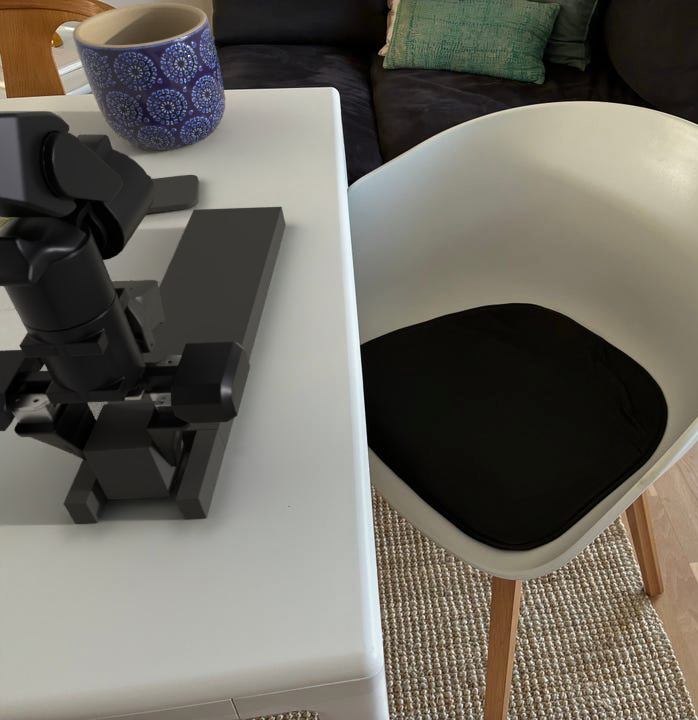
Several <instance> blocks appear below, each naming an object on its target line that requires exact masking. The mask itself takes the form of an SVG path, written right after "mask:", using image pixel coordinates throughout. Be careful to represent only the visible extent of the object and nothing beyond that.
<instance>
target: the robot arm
mask: <svg viewBox="0 0 698 720" xmlns="http://www.w3.org/2000/svg"><path fill="white" fill-rule="evenodd" d="M69 131H70V125H69V124H68V123H67V122H66V121H65V120H64V119H63V118H62V117H61V116H60V115H58V114H57V113H54V112H52V111H47V110H0V218H12V219H11V220H8V222H6V223H5V224H4V225H3V226H2V227H1V228H0V287H3V288H4V290H5V292H6V294H7V296H8V298H9V299H10V302H11V303H12V305H13V307H14V309H15V311H16V312H17V315H18V316H19V318H20V321H21V323H22V325H23V327H24V328H25V330H26V333H25V335H24V337H23V339H22V340H21V342H20V344H19V345H18V346H19V348H20V349H5V350H3V349H2V350H0V432H6V430H8V428H9V427H10V425H11V424H13V421H14V420H15V419H16V421H17V423H16V424H15V426H14V429H13V431H14V433H15V434H16V435H17V436H18V437H20V438H31V439H34V440H36V441H38V442H41V443H43V444H46V445H49V446H51V447H54V448H56V449H59V450H61V451H63V452H64V451H65V452H66V453H68V454H70V455H73V456H74V457H77V458H80V459H81V460H82V461H83V460H85V461H87V459H86V457H85V455H84V454H83V449H84V447H85V445H86V443H87V440H88V438H89V436H90V434H91V431H92V429H93V427H94V425H95V423H96V420H97V418H96V417H95V415H94V413H93V411H92V409H91V407H90V406H89V403H108V402H113V401H124V400H141V399H143V398H144V396H145V394H150V396H151V399H152V401H156V402H155V403H154V408H153V410H152V413H151V415H150V418H149V421H148V423H147V426H146V430H147V432H148V433H149V435H150V437H151V438H152V440H153V441H154V443H155V444H156V446H157V448H158V449H159V451H160V452H161V454H162V456H163V457H164V459H165V460H166V461H167V462H168V463H169V464H170V465H171V466H172V467H176V466H177V465H178V462H179V459H180V454H181V442H182V431H183V430H186V429H188V428H189V427H190V426H191V425H192V423H216V422H228V421H230V420H231V419H233V418H234V419H235V418H236V417H238V414H239V411H240V407H241V403H242V400H243V395H244V392H245V389H246V385H247V380H248V376H249V373H250V370H251V364H250V360H248V357H247V353H246V350H245V349H244V348H243V347H242V346H241V345H240V344H239V343H237V342H209V343H186V345H185V348H184V350H183V353H182V355H170V356H166V357H164V358H163V359H162V360H160V361H159V362H146V363H145V361H144V359H143V355H144V353H151V352H152V350H153V347H154V345H155V342H156V341H155V339H154V336H153V334H152V330H153V329H154V328H155V327H156V326H158V325H159V324H163V323H164V322H165V316H164V311H163V306H162V301H161V295H160V290H159V287H160V284H159V282H158V280H156V279H137V280H112V279H111V275H110V274H109V271H108V268H107V266H106V264H105V261H108V260H111V259H113V258H115V257H117V256H118V255H119V254H120V253H122V252H123V250H124V249H125V247H126V246H127V244H128V243H129V242H130V240H131V239H132V237H133V235H134V234H135V232H136V231H137V229H138V228H139V226H140V225H141V223H142V221H143V220H144V219H145V217H146V216H147V214H148V213H147V212H148V211H149V209H150V208H151V206H152V204H153V202H154V198H155V189H154V184H153V181H152V179H153V178H152V176H151V175H149V174H148V173H147V172H146V171H145V169H144V168H143V167H142V166H141V165H140V164H139V163H138V162H137V161H136V160H134V159H133V158H132V157H130V156H129V155H127V154H125V153H123V152H121V151H118V150H116V149H114V148H113V146H112V143H111V140H110V138H109V135H108V134H104V133H103V134H102V133H101V134H78V135H77V136H76V135H75V134H72V133H71V132H69ZM44 366H45V369H46V370H42V369H43V368H44ZM234 419H233V420H234Z"/></svg>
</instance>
